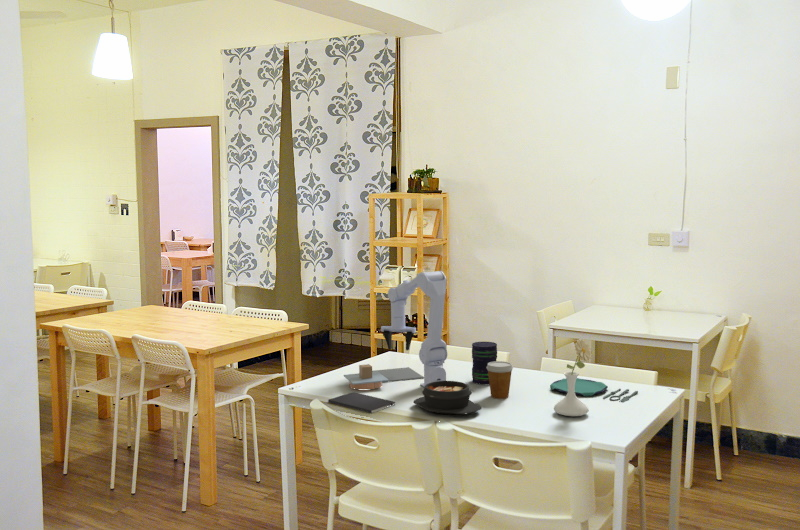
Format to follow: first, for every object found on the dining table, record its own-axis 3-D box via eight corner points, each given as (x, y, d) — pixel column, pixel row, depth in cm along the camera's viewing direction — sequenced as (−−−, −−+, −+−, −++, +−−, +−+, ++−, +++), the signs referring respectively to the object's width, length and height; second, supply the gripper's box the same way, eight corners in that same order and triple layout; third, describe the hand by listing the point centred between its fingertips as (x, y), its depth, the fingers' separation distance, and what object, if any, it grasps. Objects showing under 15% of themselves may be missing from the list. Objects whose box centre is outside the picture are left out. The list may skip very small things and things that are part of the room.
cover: (388, 381, 282) (388, 368, 281) (353, 384, 277) (352, 371, 277) (377, 372, 295) (377, 360, 295) (343, 376, 291) (343, 363, 290)
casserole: (401, 409, 256) (401, 385, 255) (435, 397, 270) (435, 375, 269) (459, 423, 239) (459, 398, 238) (492, 410, 253) (492, 386, 252)
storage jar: (490, 377, 297) (490, 340, 296) (501, 383, 288) (501, 345, 286) (467, 380, 294) (467, 342, 292) (478, 386, 285) (477, 347, 283)
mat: (423, 378, 298) (423, 377, 297) (381, 382, 292) (380, 381, 292) (408, 368, 314) (408, 367, 314) (367, 372, 309) (367, 371, 309)
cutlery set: (566, 380, 291) (566, 374, 291) (641, 394, 272) (641, 388, 272) (541, 392, 276) (541, 386, 276) (619, 407, 257) (619, 400, 257)
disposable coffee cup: (497, 391, 276) (497, 359, 275) (518, 396, 270) (518, 363, 268) (481, 396, 270) (480, 364, 269) (502, 401, 263) (502, 368, 262)
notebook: (328, 403, 266) (371, 414, 252) (328, 399, 265) (371, 410, 251) (353, 396, 275) (396, 406, 261) (353, 391, 275) (396, 402, 261)
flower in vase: (567, 421, 240) (567, 344, 237) (546, 411, 250) (547, 338, 248) (600, 415, 245) (600, 341, 243) (578, 406, 255) (579, 335, 253)
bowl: (385, 388, 283) (385, 380, 283) (355, 391, 279) (355, 383, 279) (376, 381, 294) (376, 373, 294) (346, 384, 290) (346, 376, 290)
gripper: (418, 315, 305) (418, 348, 306) (384, 314, 309) (385, 346, 311) (412, 318, 298) (413, 351, 299) (378, 317, 303) (379, 349, 304)
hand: (398, 349), depth 304 cm, fingers open, 7 cm apart
